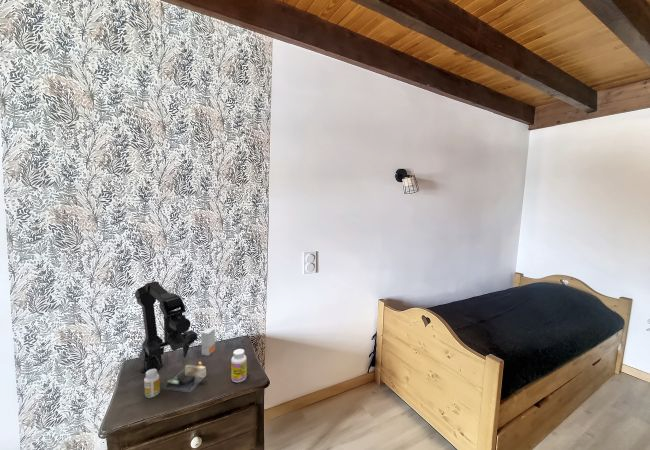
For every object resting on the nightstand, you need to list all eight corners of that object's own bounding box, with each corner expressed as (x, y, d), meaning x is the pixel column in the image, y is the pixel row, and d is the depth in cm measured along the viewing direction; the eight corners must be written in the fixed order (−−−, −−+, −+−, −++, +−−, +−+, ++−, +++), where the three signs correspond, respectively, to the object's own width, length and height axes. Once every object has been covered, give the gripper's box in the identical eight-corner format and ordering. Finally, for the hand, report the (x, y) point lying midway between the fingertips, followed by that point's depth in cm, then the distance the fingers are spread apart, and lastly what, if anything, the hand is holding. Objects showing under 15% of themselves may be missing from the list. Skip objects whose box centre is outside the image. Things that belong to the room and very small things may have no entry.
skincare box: (208, 355, 144) (208, 333, 143) (201, 354, 145) (200, 332, 144) (215, 349, 150) (215, 328, 149) (208, 348, 151) (207, 327, 150)
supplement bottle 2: (231, 384, 122) (230, 356, 120) (231, 375, 128) (231, 348, 127) (246, 381, 123) (246, 354, 122) (246, 373, 130) (246, 346, 129)
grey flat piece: (164, 389, 118) (164, 381, 118) (189, 366, 135) (189, 358, 134) (190, 392, 116) (189, 384, 116) (212, 368, 133) (212, 361, 133)
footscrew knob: (173, 382, 120) (173, 369, 119) (184, 372, 127) (183, 360, 126) (200, 385, 118) (199, 372, 118) (209, 375, 125) (209, 363, 124)
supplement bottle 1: (159, 387, 119) (158, 366, 118) (160, 395, 115) (159, 372, 114) (144, 392, 116) (143, 370, 115) (144, 399, 112) (143, 377, 111)
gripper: (152, 340, 104) (154, 379, 106) (202, 324, 118) (203, 359, 119) (144, 330, 112) (145, 367, 113) (191, 317, 126) (193, 350, 127)
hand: (173, 361), depth 118 cm, fingers open, 9 cm apart
